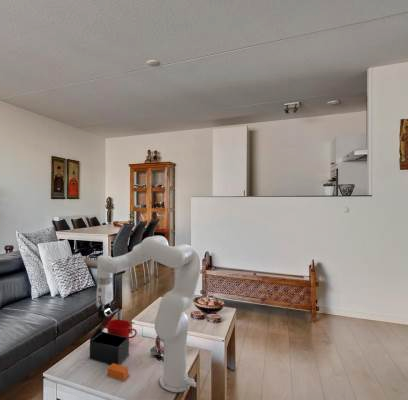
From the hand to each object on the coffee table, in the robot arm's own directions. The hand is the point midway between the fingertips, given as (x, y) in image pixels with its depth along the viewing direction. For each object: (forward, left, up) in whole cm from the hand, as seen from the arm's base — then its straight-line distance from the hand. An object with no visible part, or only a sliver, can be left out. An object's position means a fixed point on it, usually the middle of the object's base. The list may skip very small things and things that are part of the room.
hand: (104, 315), depth 157 cm
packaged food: (-26, -15, -20) cm, 36 cm away
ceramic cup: (-2, -17, -20) cm, 27 cm away
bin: (-3, 0, -20) cm, 20 cm away
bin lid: (-1, 0, -4) cm, 5 cm away
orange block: (-14, +13, -20) cm, 28 cm away
